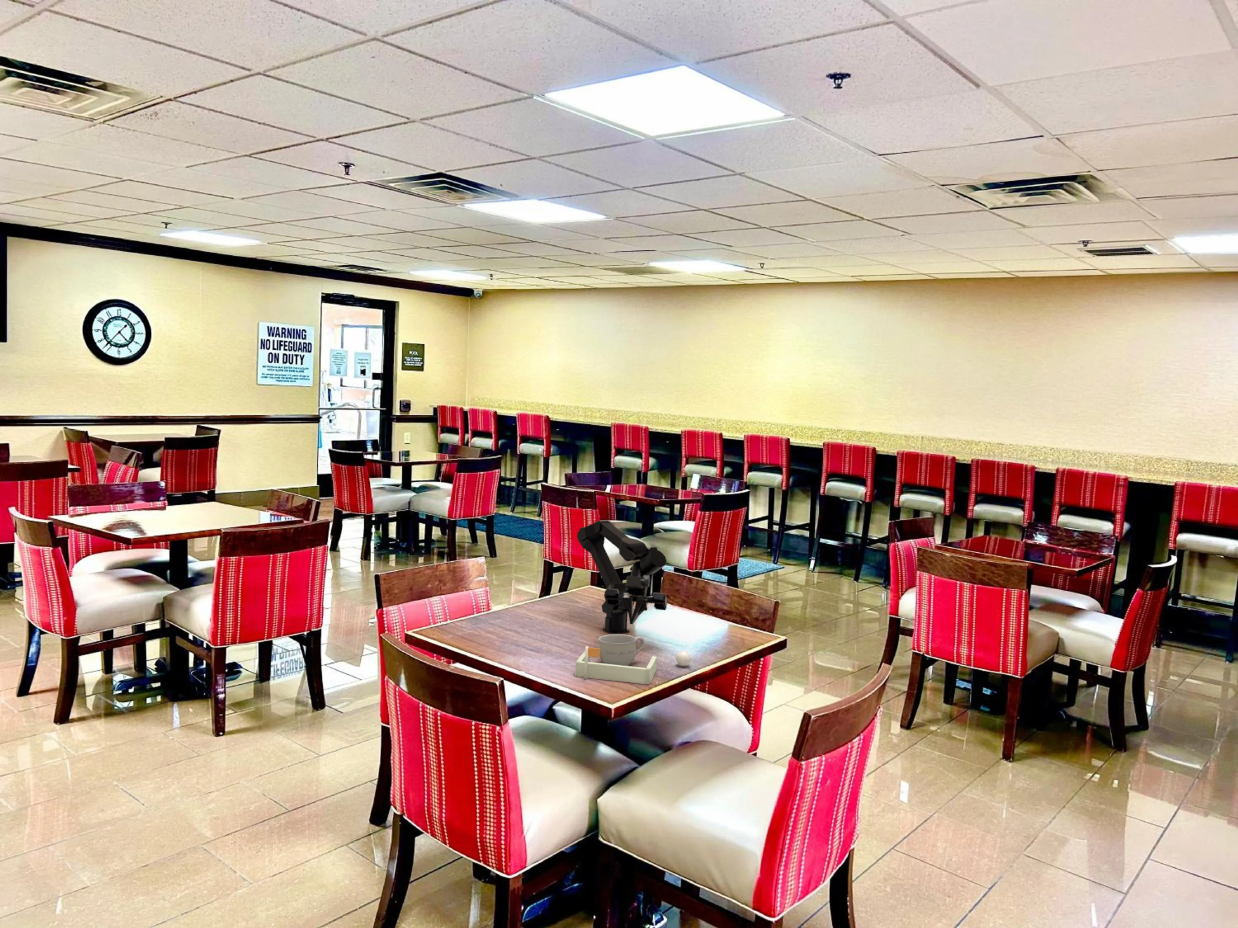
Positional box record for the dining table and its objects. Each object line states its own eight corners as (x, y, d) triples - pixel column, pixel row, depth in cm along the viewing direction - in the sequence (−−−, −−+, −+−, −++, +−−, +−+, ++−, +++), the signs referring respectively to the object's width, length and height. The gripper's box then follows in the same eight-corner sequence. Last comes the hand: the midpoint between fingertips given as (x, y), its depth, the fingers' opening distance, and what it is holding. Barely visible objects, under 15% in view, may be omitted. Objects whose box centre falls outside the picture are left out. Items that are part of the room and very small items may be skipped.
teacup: (603, 672, 243) (604, 644, 242) (593, 660, 253) (594, 632, 252) (651, 669, 247) (652, 641, 246) (638, 657, 257) (639, 630, 256)
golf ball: (684, 662, 254) (685, 648, 253) (693, 666, 250) (694, 652, 250) (672, 664, 252) (673, 650, 251) (681, 669, 248) (682, 654, 248)
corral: (585, 662, 250) (587, 631, 249) (656, 670, 246) (657, 638, 245) (573, 678, 237) (575, 645, 236) (648, 686, 233) (649, 653, 232)
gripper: (606, 562, 266) (597, 606, 256) (667, 567, 262) (660, 612, 253) (611, 582, 274) (601, 625, 265) (670, 587, 271) (662, 631, 261)
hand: (631, 623), depth 260 cm, fingers closed
